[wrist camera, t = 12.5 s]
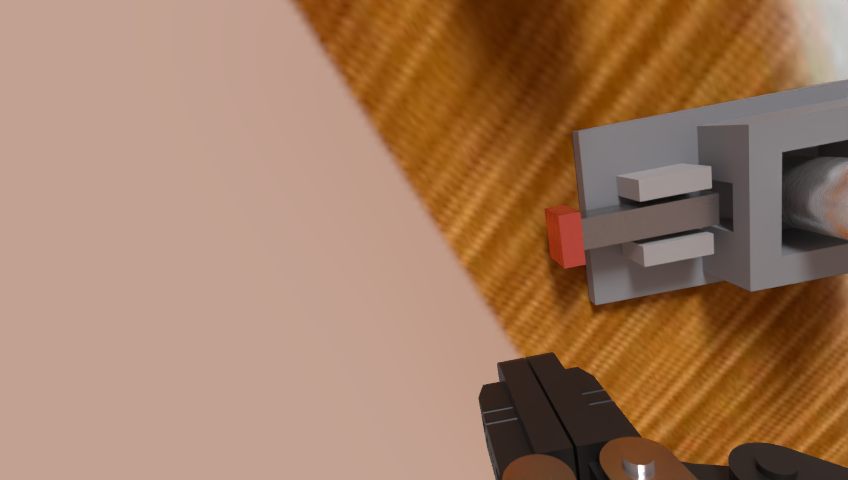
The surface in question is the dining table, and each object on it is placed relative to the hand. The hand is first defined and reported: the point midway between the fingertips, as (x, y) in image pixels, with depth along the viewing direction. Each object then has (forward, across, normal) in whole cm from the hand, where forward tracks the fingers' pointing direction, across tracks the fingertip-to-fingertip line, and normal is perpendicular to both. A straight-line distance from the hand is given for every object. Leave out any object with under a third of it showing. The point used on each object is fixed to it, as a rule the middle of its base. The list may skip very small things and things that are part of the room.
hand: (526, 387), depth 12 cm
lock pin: (+15, -10, 0) cm, 18 cm away
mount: (+16, -16, 0) cm, 23 cm away
